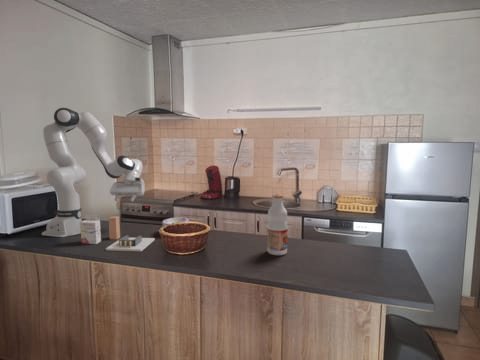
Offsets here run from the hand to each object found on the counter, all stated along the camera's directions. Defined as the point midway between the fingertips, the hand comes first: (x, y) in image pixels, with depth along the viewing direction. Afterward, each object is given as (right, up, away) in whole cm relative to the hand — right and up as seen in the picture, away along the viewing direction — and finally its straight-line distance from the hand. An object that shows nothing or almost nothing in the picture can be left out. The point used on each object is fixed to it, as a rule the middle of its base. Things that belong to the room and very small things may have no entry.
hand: (123, 200), depth 182 cm
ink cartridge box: (-11, -21, -17) cm, 29 cm away
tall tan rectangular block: (-1, -20, -10) cm, 22 cm away
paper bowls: (+31, -19, -1) cm, 36 cm away
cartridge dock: (+12, -21, -21) cm, 32 cm away
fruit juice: (+86, -23, -32) cm, 95 cm away
